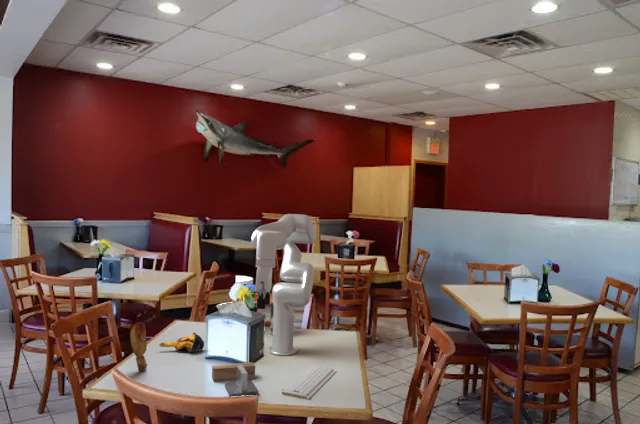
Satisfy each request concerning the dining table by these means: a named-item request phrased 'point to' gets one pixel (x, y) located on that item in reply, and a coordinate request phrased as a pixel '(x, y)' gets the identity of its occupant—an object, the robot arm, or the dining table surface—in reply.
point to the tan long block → (231, 371)
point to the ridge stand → (241, 384)
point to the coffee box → (272, 318)
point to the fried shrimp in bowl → (186, 344)
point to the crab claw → (139, 344)
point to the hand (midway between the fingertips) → (263, 306)
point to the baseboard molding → (309, 382)
